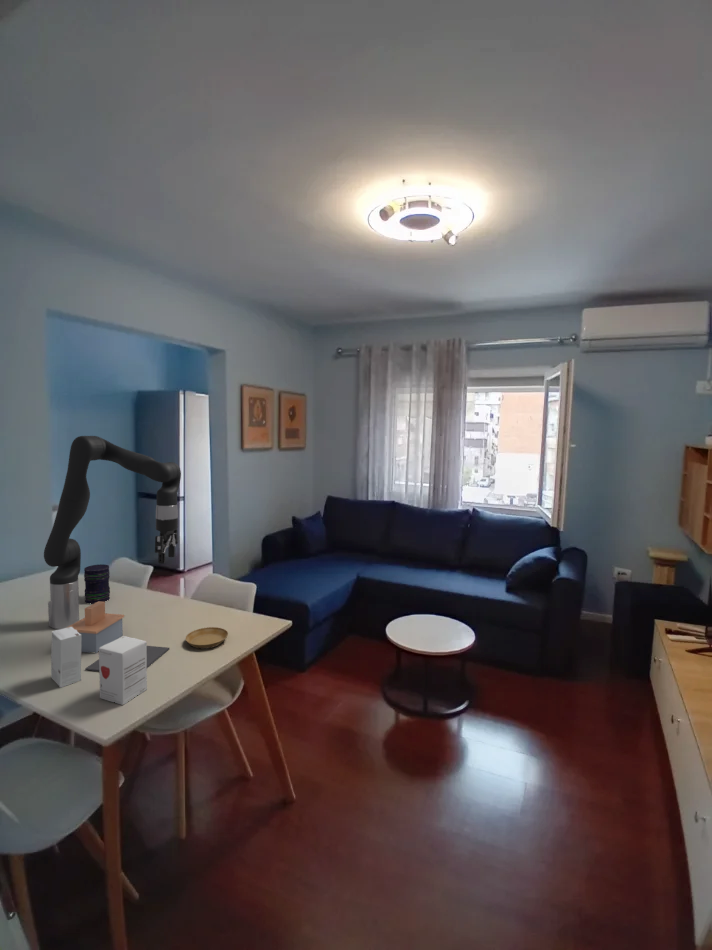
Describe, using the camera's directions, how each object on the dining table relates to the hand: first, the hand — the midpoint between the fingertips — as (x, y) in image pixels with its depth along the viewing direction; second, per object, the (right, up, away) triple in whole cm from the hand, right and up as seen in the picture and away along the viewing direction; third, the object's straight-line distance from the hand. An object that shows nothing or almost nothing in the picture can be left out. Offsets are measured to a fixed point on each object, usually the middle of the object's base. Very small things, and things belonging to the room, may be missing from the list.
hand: (166, 560), depth 170 cm
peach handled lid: (-23, -23, -7) cm, 33 cm away
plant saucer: (+16, -29, -3) cm, 34 cm away
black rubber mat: (-5, -30, -18) cm, 35 cm away
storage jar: (-45, -25, +35) cm, 62 cm away
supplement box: (+3, -32, -38) cm, 49 cm away
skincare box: (-18, -31, -31) cm, 47 cm away
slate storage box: (-23, -28, -6) cm, 37 cm away
